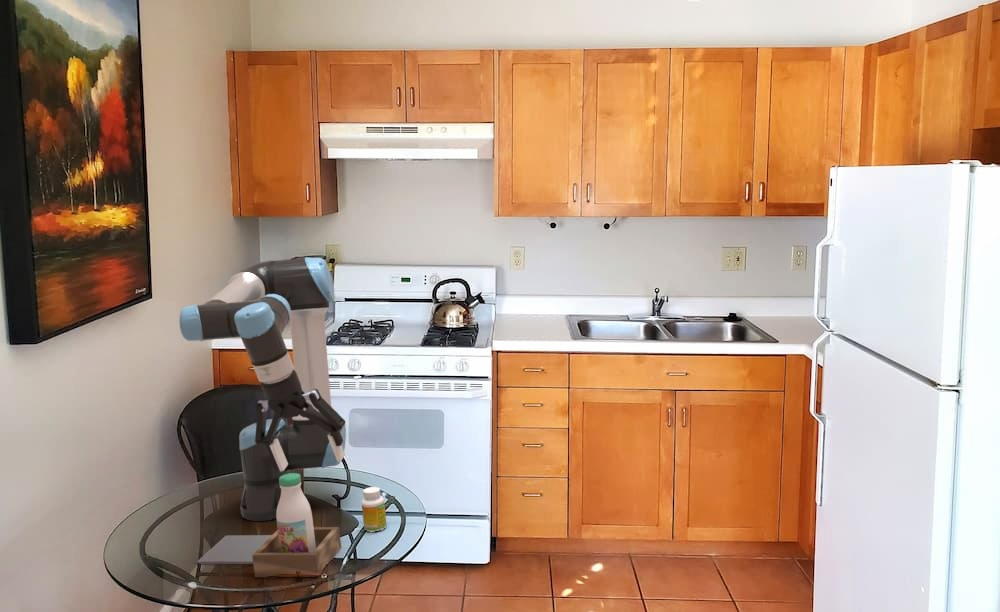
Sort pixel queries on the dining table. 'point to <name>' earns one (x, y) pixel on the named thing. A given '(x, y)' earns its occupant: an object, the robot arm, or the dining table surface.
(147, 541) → the dining table surface
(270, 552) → the walnut crate
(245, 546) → the rubber mat
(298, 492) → the milk bottle
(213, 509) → the dining table surface
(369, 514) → the supplement bottle
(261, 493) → the robot arm
